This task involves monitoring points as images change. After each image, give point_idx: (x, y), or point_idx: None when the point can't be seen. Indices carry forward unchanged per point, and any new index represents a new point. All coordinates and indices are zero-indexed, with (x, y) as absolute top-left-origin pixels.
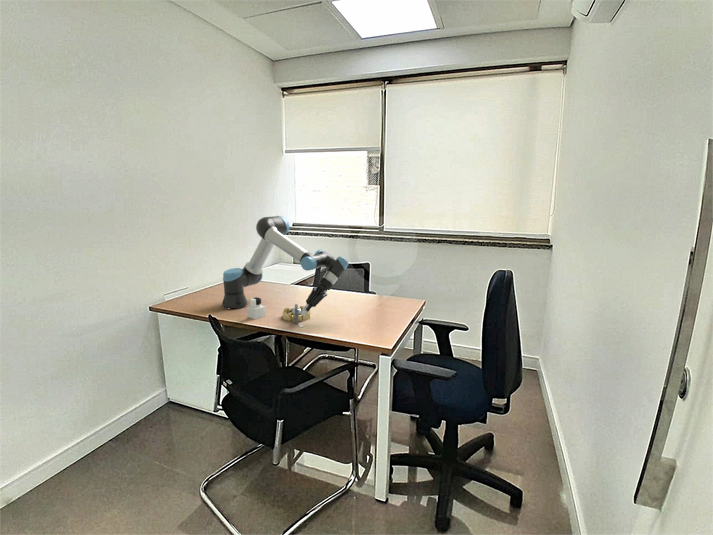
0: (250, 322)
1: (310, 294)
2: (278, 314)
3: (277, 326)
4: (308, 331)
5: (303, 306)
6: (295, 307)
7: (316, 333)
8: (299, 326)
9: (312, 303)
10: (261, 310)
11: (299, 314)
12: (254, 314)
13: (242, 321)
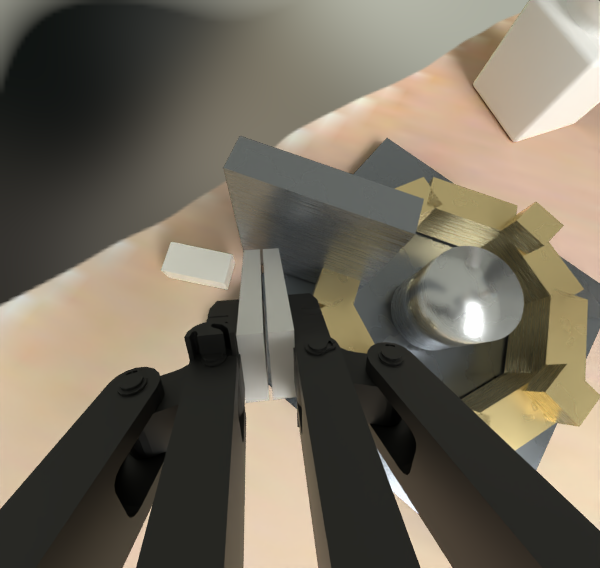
0: (459, 63)
1: (573, 556)
2: (569, 235)
3: (324, 153)
4: (101, 293)
5: (568, 412)
6: (281, 158)
7: (14, 331)
8: (183, 244)
9: (113, 393)
10: (547, 64)
11: (410, 319)
12: (503, 38)
13: (490, 39)
